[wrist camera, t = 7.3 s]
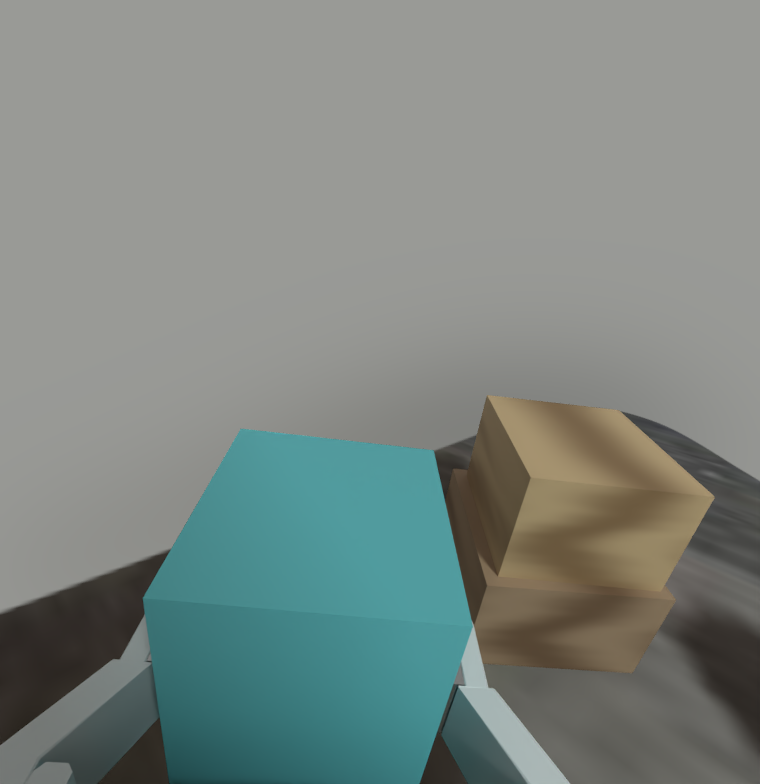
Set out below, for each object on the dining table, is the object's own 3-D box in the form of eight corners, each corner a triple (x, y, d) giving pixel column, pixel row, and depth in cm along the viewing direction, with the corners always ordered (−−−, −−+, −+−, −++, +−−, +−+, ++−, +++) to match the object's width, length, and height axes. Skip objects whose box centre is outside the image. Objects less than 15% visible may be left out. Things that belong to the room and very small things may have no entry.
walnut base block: (461, 664, 19) (487, 585, 17) (437, 534, 26) (453, 468, 24) (631, 675, 20) (676, 600, 17) (561, 545, 27) (587, 481, 25)
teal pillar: (185, 897, 10) (142, 598, 6) (241, 691, 14) (240, 428, 10) (378, 905, 10) (473, 626, 6) (377, 701, 14) (433, 450, 10)
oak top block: (498, 576, 17) (530, 477, 15) (466, 474, 24) (487, 395, 22) (660, 591, 18) (714, 497, 16) (587, 487, 24) (618, 410, 22)
